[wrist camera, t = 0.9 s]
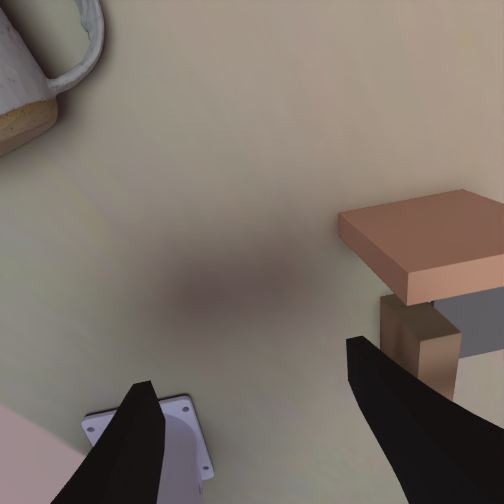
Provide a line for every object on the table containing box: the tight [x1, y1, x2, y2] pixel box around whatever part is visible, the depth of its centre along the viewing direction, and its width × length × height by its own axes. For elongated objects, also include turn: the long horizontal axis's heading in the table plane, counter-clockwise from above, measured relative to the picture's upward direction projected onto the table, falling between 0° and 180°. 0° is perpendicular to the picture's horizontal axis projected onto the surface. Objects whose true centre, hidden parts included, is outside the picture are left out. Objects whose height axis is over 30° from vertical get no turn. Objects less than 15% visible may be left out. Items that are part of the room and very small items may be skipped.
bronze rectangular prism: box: [380, 294, 462, 402], centre depth 23 cm, size 8×2×5 cm, turn 9°
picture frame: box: [338, 189, 504, 306], centre depth 18 cm, size 2×8×8 cm, turn 99°
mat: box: [431, 286, 504, 359], centre depth 25 cm, size 10×7×1 cm
